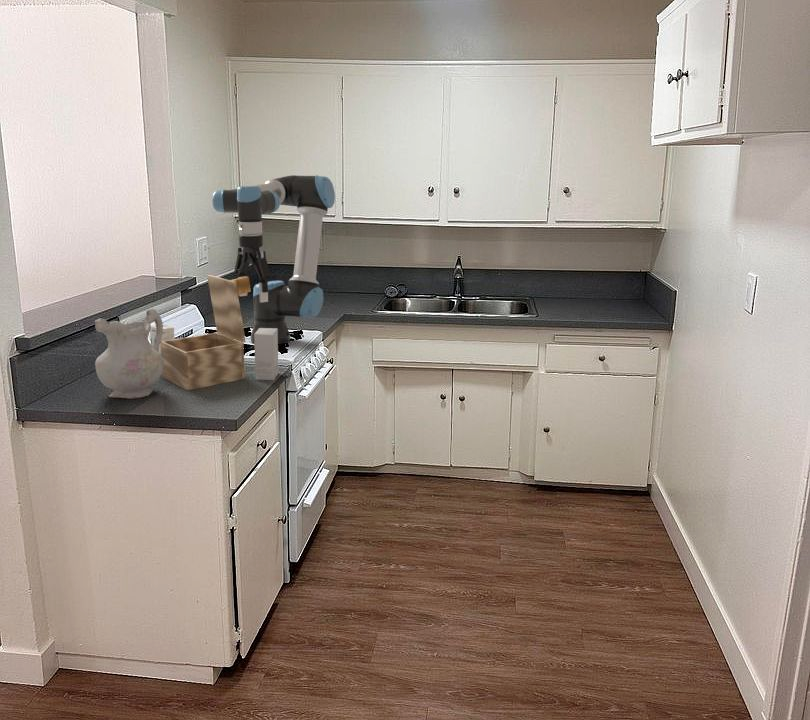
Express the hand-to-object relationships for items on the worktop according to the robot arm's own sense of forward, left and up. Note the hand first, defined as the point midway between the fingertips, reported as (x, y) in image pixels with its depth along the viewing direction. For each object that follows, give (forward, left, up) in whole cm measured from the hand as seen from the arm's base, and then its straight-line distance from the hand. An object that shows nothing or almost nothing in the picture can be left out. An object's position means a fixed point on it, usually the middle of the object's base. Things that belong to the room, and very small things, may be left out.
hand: (253, 298), depth 253 cm
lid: (+11, 0, -2) cm, 11 cm away
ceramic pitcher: (+42, +1, -24) cm, 49 cm away
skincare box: (+2, +12, -24) cm, 27 cm away
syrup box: (+24, -19, -24) cm, 39 cm away
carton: (+19, 0, -24) cm, 31 cm away
